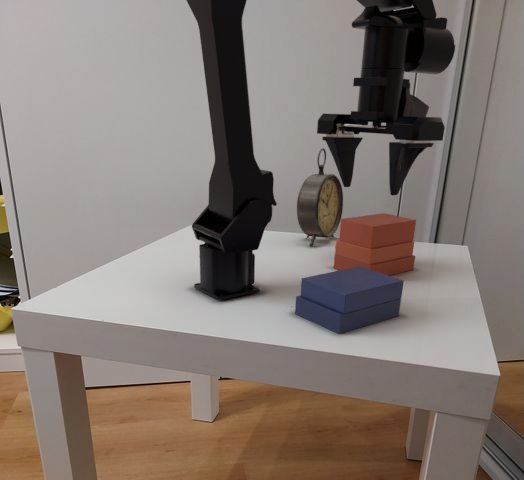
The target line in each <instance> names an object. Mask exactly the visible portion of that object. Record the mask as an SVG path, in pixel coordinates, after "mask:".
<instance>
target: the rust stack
mask: <svg viewBox="0 0 524 480" xmlns="http://www.w3.org/2000/svg"><path fill="white" fill-rule="evenodd" d="M414 247H415V241H414V240H413V241H410V242H405V243H400V244H394V245H389V246H384V247H378V248H373V249H369V248H366V247H362V246H358V245H355V244H351V243H348V242H344V241H340V240H339V239H336V240H335V249H334V259H333V269H335V270H337V271H339V270H344V269H348V268H353V267H358V266H359V267H363V268H366V269H369V270H372V271H375V272H379V273H382V274H385V275H388V276H391V275H397V274H400V273H404V272H405V273H406V272H409V271H413V270H414V269H415V262H416V261H415V260H416V255H414Z"/></svg>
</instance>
